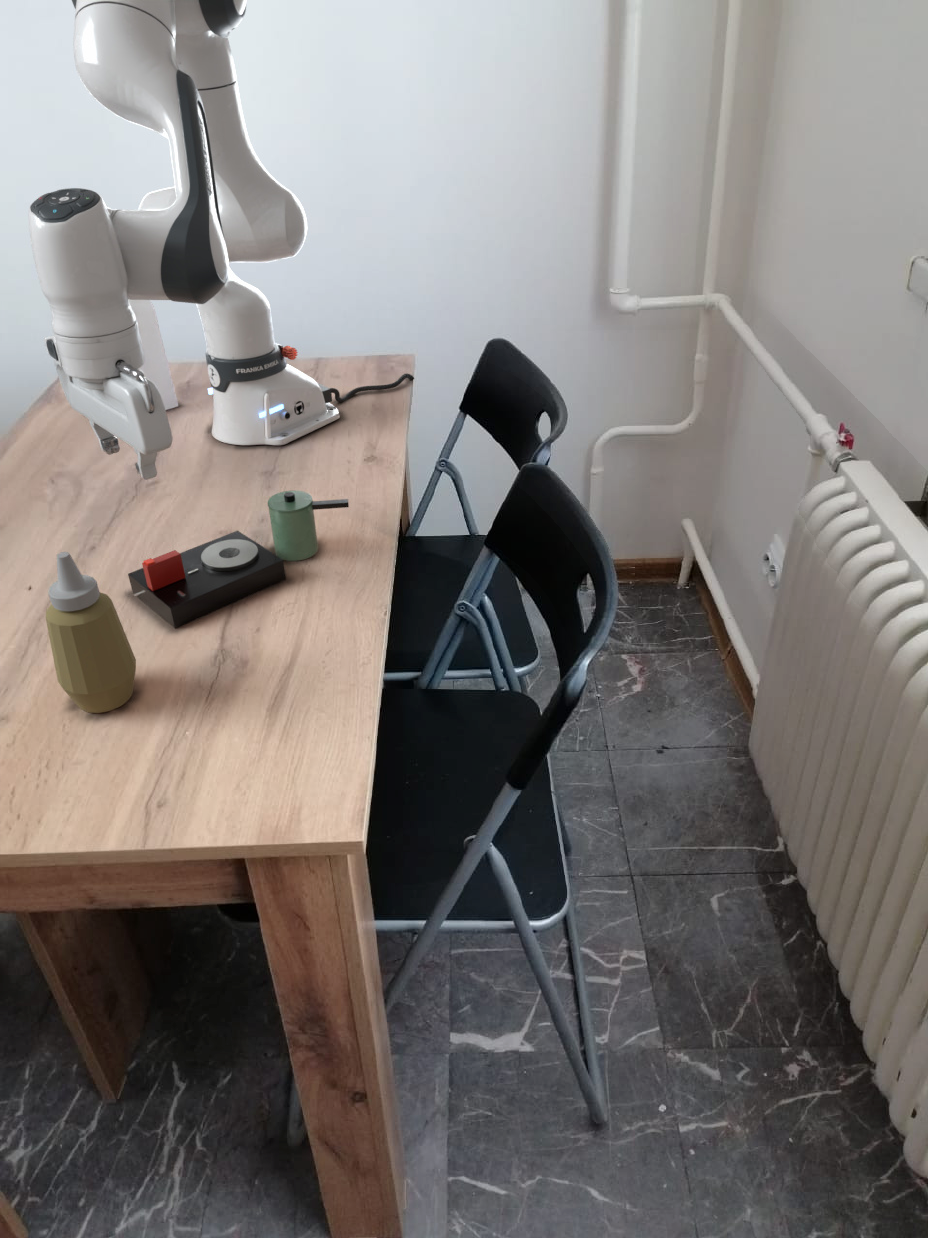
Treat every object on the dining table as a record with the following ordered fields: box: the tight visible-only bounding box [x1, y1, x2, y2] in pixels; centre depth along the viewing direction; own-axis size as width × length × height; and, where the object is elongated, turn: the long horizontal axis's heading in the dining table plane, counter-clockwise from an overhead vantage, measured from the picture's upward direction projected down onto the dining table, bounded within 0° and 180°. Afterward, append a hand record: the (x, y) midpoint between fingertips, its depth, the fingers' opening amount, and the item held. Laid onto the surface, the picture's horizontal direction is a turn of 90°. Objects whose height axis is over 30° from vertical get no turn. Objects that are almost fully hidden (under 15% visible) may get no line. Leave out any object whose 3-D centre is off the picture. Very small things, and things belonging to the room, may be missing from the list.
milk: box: [128, 299, 179, 411], centre depth 166 cm, size 12×12×26 cm
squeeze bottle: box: [45, 551, 137, 714], centre depth 98 cm, size 8×8×18 cm
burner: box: [201, 539, 258, 571], centre depth 121 cm, size 7×7×1 cm
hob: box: [127, 530, 287, 629], centre depth 120 cm, size 18×11×3 cm, turn 133°
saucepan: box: [267, 490, 349, 562], centre depth 126 cm, size 9×8×8 cm
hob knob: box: [141, 549, 186, 591], centre depth 115 cm, size 4×1×4 cm, turn 133°
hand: (129, 463), depth 113 cm, fingers open, 8 cm apart
